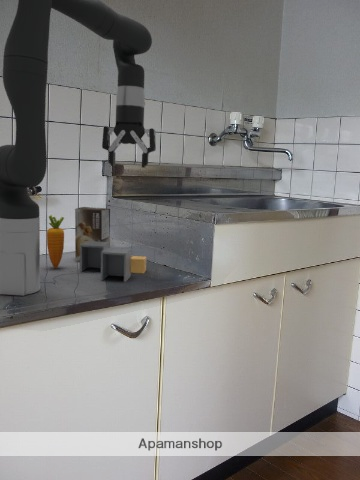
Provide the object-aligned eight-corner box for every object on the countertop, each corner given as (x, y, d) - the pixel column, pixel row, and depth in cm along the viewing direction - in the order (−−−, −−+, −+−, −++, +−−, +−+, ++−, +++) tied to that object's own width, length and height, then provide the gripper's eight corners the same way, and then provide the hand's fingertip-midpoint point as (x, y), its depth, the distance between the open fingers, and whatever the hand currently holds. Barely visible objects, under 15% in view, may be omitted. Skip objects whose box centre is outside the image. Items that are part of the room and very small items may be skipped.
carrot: (67, 266, 140) (67, 214, 138) (61, 270, 136) (61, 216, 133) (50, 265, 141) (49, 213, 138) (43, 269, 136) (43, 215, 134)
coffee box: (110, 260, 152) (111, 208, 150) (101, 264, 146) (102, 210, 143) (84, 257, 155) (84, 206, 152) (74, 261, 149) (74, 208, 146)
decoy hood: (103, 273, 135) (103, 246, 133) (80, 271, 135) (80, 244, 134) (109, 268, 141) (109, 242, 140) (86, 266, 142) (87, 241, 140)
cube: (143, 273, 136) (144, 259, 136) (129, 272, 137) (129, 258, 136) (146, 270, 140) (146, 256, 140) (132, 269, 141) (132, 256, 140)
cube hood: (125, 282, 126) (126, 253, 125) (100, 280, 127) (101, 251, 125) (130, 276, 132) (131, 248, 131) (106, 274, 133) (107, 247, 132)
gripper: (100, 102, 129) (98, 165, 131) (154, 104, 127) (151, 168, 129) (107, 106, 136) (106, 165, 138) (158, 108, 134) (156, 168, 137)
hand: (128, 166), depth 134 cm, fingers open, 8 cm apart
